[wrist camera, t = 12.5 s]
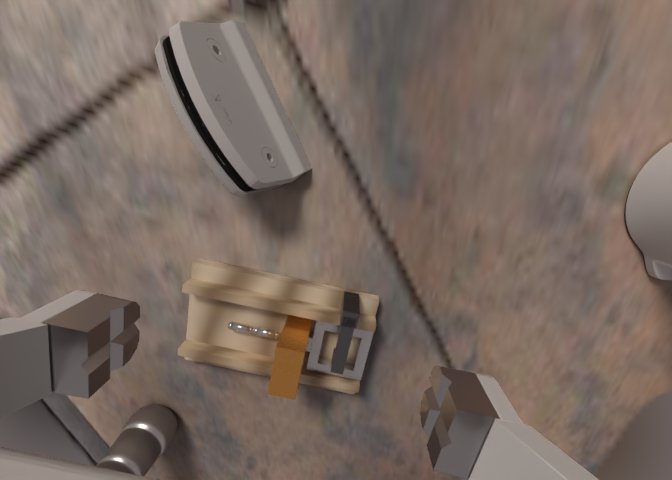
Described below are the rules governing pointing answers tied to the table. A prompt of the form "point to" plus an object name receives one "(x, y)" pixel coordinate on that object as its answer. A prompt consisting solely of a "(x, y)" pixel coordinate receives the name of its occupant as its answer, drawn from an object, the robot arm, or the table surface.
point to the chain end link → (304, 352)
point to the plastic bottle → (141, 440)
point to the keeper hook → (345, 330)
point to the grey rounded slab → (230, 106)
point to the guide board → (263, 319)
